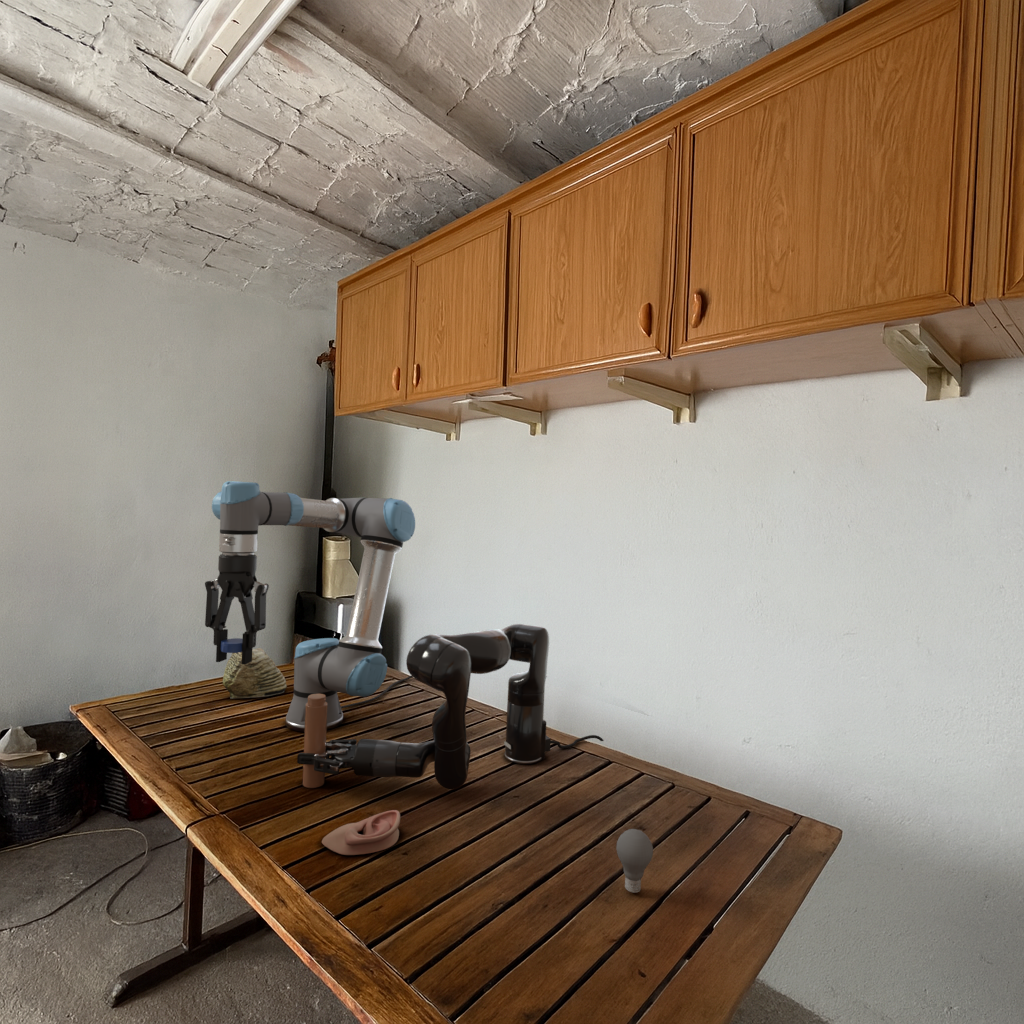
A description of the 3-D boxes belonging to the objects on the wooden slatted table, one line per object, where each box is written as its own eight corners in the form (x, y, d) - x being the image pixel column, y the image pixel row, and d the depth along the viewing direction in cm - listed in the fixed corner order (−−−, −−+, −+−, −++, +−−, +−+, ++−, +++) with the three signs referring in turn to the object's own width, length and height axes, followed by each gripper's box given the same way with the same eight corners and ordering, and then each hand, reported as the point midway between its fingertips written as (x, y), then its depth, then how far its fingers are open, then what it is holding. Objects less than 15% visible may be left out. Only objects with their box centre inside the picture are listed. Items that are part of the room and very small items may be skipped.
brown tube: (298, 783, 140) (301, 695, 139) (317, 776, 143) (320, 691, 143) (309, 790, 137) (313, 700, 136) (328, 783, 140) (331, 696, 140)
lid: (216, 649, 135) (216, 640, 135) (239, 646, 139) (240, 637, 139) (228, 654, 132) (228, 645, 132) (252, 650, 136) (252, 641, 136)
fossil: (218, 695, 195) (220, 647, 195) (278, 685, 208) (279, 640, 207) (228, 703, 189) (230, 653, 188) (289, 692, 201) (290, 645, 201)
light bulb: (610, 879, 108) (613, 822, 108) (644, 879, 109) (647, 822, 109) (619, 902, 102) (622, 840, 102) (655, 901, 103) (658, 840, 103)
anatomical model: (313, 828, 113) (343, 799, 125) (313, 850, 113) (342, 819, 125) (383, 839, 111) (407, 808, 122) (382, 862, 111) (406, 829, 122)
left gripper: (187, 552, 133) (183, 662, 133) (268, 557, 130) (264, 669, 131) (209, 550, 140) (206, 654, 141) (286, 554, 138) (282, 660, 138)
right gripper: (387, 729, 146) (314, 725, 147) (370, 754, 132) (290, 749, 133) (385, 761, 146) (313, 757, 147) (369, 789, 132) (288, 784, 133)
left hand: (234, 661), depth 136 cm, fingers closed on lid, 5 cm apart
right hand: (302, 753), depth 140 cm, fingers closed on brown tube, 4 cm apart
